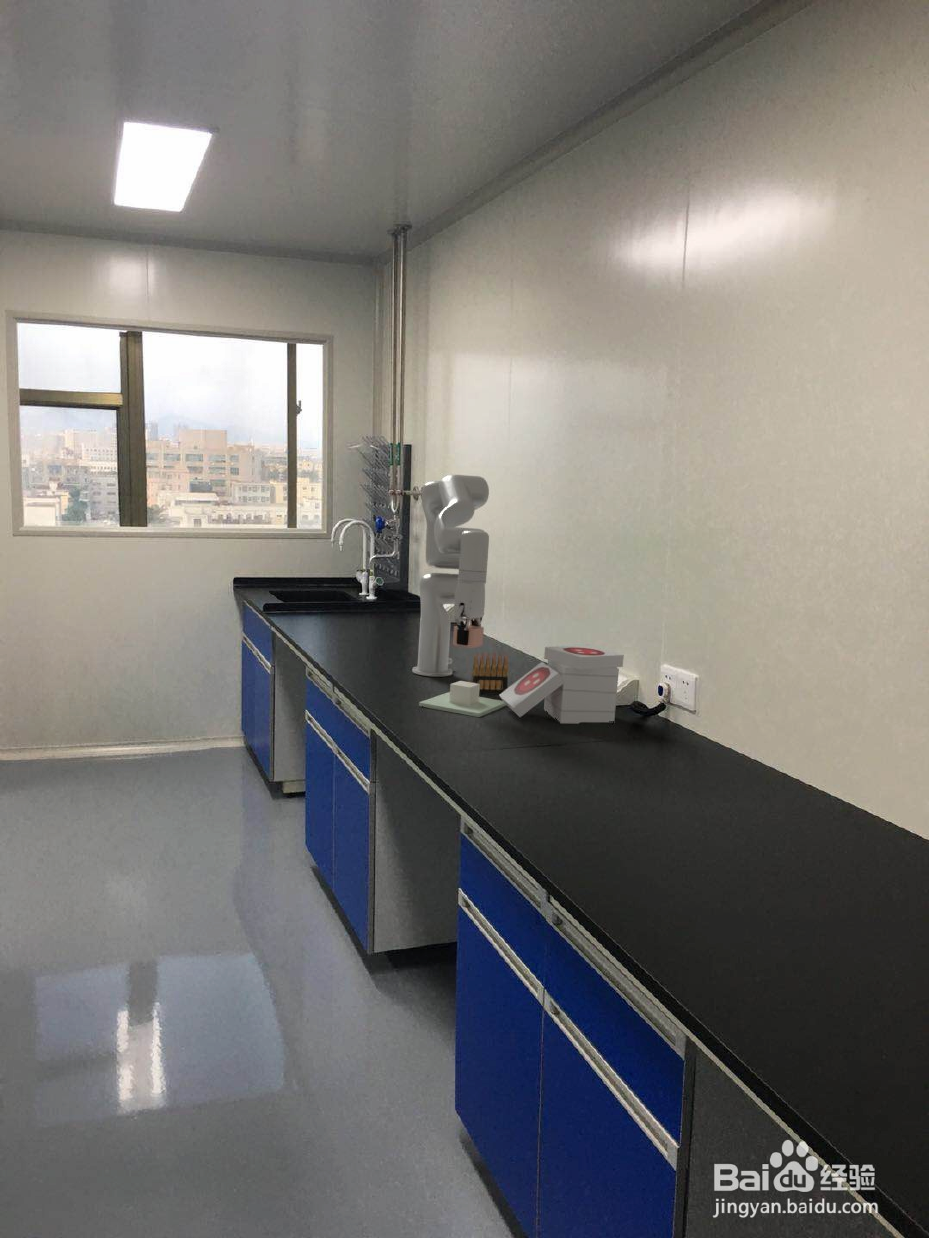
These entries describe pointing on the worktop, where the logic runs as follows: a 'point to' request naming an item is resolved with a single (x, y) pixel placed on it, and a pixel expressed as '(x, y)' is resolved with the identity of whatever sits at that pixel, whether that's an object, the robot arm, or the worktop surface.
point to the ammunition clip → (491, 674)
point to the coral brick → (471, 636)
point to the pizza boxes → (570, 685)
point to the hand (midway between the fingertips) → (467, 642)
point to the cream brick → (464, 693)
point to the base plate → (473, 710)
